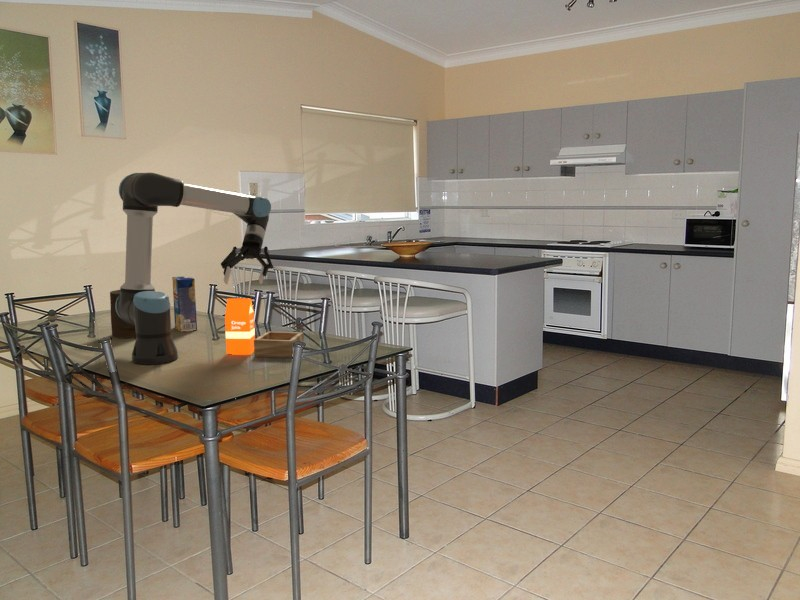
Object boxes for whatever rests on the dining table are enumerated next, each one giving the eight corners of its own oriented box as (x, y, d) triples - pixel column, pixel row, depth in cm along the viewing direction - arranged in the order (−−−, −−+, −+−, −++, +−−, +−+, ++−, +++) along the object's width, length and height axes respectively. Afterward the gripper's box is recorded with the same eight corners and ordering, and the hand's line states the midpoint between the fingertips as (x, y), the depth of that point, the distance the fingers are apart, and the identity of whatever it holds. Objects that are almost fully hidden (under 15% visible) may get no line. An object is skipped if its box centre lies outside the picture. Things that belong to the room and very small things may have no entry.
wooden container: (156, 331, 284) (153, 279, 280) (142, 338, 269) (138, 284, 266) (121, 331, 284) (118, 279, 281) (105, 338, 270) (101, 284, 266)
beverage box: (191, 326, 295) (188, 276, 291) (197, 330, 285) (194, 278, 282) (175, 327, 291) (172, 277, 288) (180, 332, 282) (177, 279, 278)
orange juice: (250, 355, 242) (248, 300, 239) (226, 354, 242) (223, 300, 239) (255, 350, 250) (253, 296, 247) (231, 349, 250) (229, 296, 247)
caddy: (292, 357, 238) (292, 341, 237) (254, 356, 240) (253, 340, 239) (304, 348, 253) (303, 332, 252) (268, 347, 254) (267, 331, 253)
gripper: (286, 244, 268) (277, 288, 256) (226, 245, 271) (214, 287, 259) (282, 232, 262) (272, 276, 250) (220, 232, 265) (207, 276, 253)
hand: (242, 282), depth 254 cm, fingers open, 13 cm apart
